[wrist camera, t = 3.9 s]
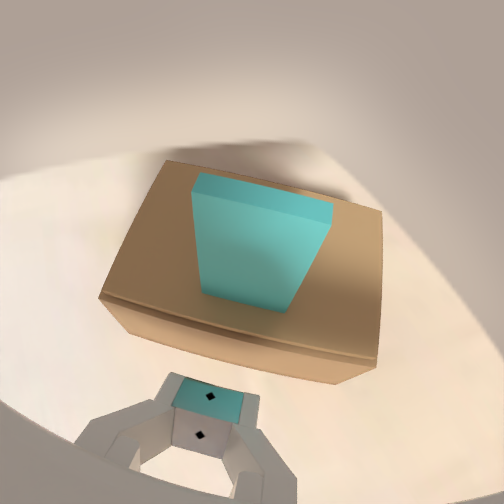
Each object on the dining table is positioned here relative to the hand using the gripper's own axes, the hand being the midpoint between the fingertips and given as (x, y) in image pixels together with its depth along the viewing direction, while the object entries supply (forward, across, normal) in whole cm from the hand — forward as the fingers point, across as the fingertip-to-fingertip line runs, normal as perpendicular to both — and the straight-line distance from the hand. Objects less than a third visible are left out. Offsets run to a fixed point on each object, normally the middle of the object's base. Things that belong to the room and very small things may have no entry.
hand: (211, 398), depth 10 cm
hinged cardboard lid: (+12, 0, -2) cm, 13 cm away
